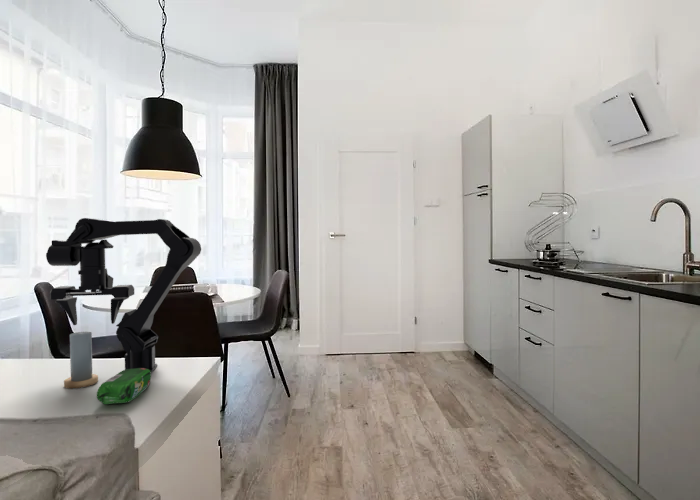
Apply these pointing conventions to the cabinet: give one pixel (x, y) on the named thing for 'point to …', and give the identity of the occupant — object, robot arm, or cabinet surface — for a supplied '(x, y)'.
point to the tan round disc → (80, 382)
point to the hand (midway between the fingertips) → (94, 324)
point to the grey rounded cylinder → (81, 356)
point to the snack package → (124, 386)
